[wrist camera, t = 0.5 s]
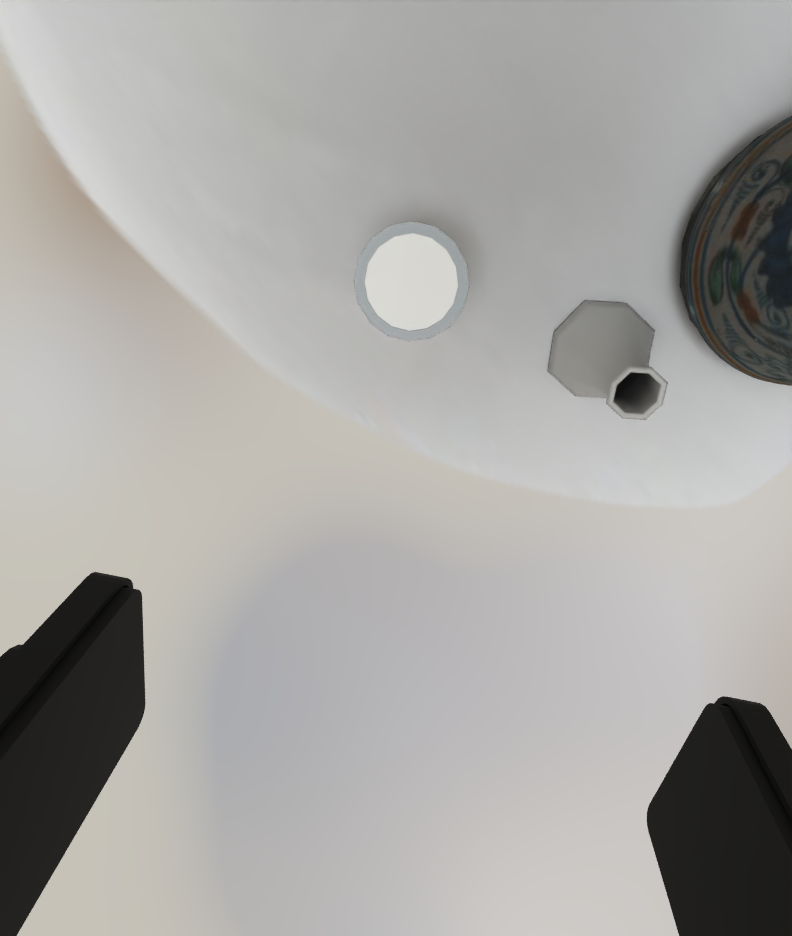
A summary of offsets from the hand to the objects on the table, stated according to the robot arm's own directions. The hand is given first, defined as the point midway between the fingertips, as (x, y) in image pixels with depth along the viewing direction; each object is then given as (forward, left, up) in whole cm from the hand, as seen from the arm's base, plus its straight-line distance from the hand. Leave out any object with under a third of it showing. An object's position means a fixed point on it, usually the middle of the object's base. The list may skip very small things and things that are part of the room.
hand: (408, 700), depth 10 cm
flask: (+8, +8, -36) cm, 38 cm away
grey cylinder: (-3, -1, -36) cm, 36 cm away
